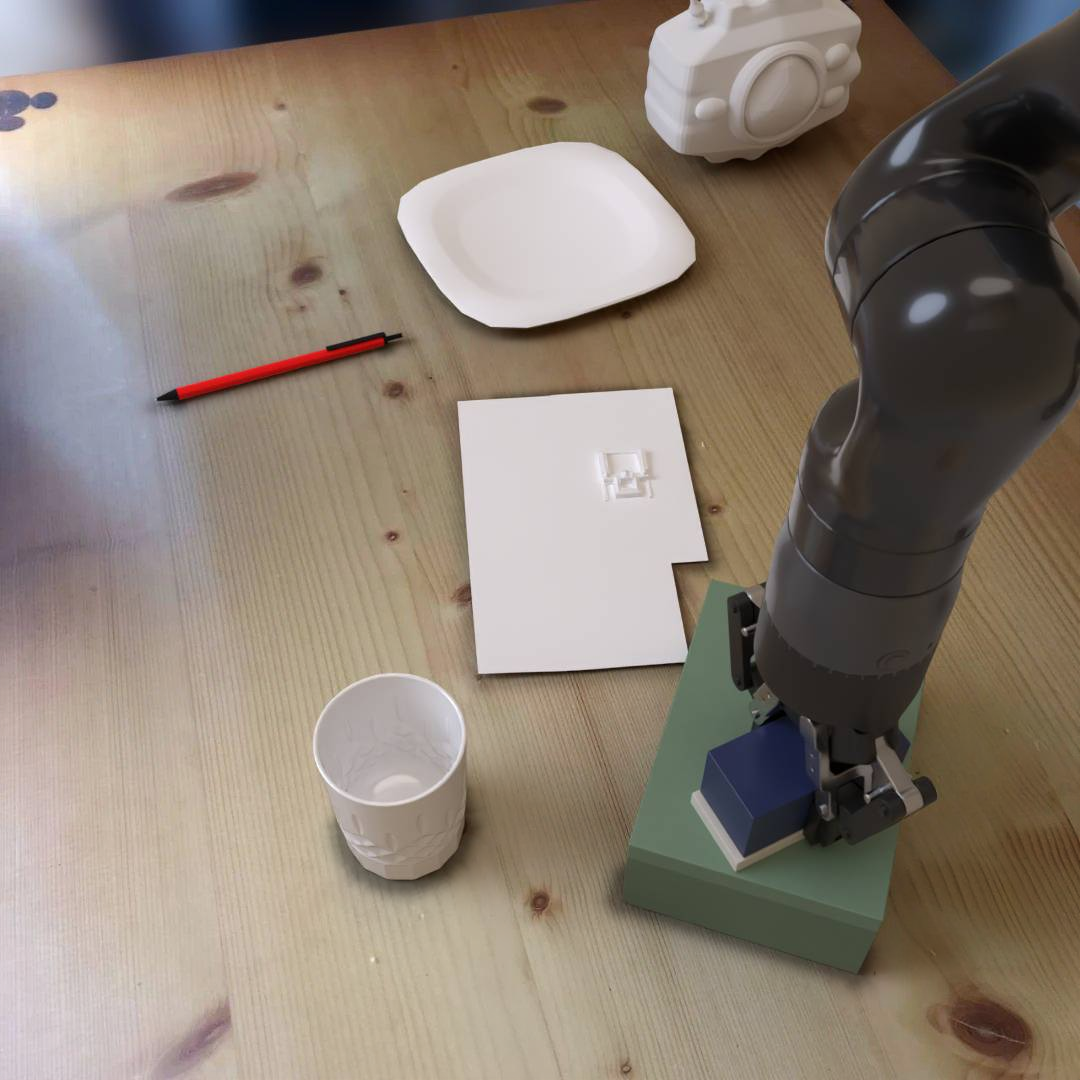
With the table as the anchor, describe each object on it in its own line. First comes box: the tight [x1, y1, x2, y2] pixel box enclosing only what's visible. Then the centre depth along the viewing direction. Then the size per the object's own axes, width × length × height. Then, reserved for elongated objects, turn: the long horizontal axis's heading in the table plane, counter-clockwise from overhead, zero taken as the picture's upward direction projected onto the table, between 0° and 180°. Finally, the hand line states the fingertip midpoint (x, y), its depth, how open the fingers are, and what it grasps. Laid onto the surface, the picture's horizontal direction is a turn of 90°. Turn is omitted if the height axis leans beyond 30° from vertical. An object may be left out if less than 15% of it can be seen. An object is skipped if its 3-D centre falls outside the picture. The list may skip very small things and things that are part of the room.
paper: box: [456, 387, 709, 675], centre depth 88 cm, size 25×17×1 cm
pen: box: [153, 331, 403, 402], centre depth 98 cm, size 1×19×1 cm, turn 112°
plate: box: [396, 141, 697, 330], centre depth 108 cm, size 22×22×2 cm
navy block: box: [691, 715, 911, 872], centre depth 66 cm, size 10×4×5 cm, turn 117°
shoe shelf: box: [621, 578, 927, 975], centre depth 73 cm, size 13×18×7 cm
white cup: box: [312, 672, 468, 881], centre depth 71 cm, size 8×8×10 cm
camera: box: [643, 0, 862, 164], centre depth 110 cm, size 11×18×16 cm, turn 114°
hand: (795, 792), depth 68 cm, fingers closed on navy block, 4 cm apart
